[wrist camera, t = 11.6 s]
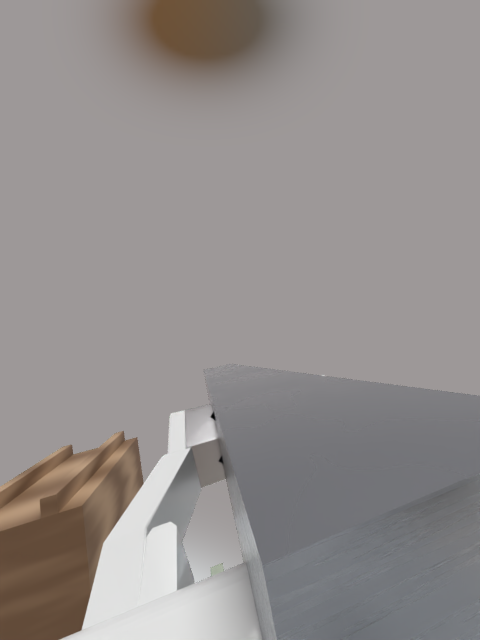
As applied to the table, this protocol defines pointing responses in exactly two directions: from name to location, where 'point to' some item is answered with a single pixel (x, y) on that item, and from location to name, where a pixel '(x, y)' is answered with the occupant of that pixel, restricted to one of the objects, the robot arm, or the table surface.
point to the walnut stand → (60, 535)
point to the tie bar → (352, 504)
